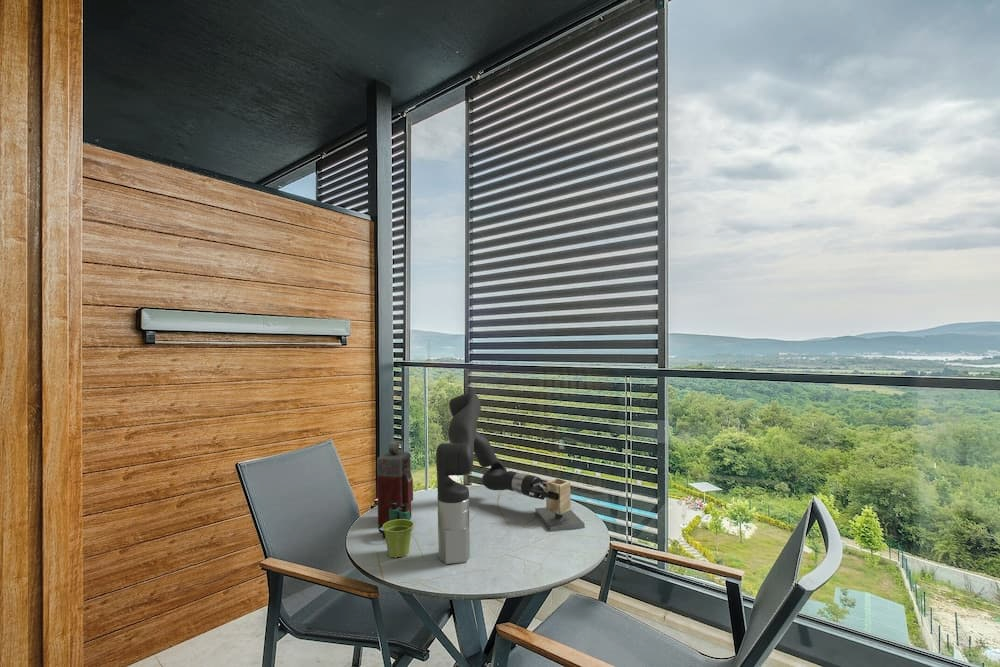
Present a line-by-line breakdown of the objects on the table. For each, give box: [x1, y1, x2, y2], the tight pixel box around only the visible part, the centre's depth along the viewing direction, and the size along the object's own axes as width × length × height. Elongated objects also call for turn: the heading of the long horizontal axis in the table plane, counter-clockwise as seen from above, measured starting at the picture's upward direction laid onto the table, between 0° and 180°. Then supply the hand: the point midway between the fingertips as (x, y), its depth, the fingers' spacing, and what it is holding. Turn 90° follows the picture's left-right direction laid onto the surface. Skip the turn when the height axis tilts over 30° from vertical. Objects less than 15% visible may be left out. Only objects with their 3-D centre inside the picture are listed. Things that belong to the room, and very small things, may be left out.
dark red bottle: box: [376, 440, 414, 526], centre depth 176 cm, size 9×11×28 cm
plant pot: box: [381, 519, 415, 559], centre depth 149 cm, size 9×9×9 cm
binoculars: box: [377, 501, 411, 539], centre depth 162 cm, size 9×11×10 cm
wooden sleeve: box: [545, 477, 572, 515], centre depth 174 cm, size 6×6×10 cm
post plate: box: [534, 506, 586, 532], centre depth 174 cm, size 18×12×8 cm, turn 12°
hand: (564, 494), depth 173 cm, fingers closed on wooden sleeve, 6 cm apart
